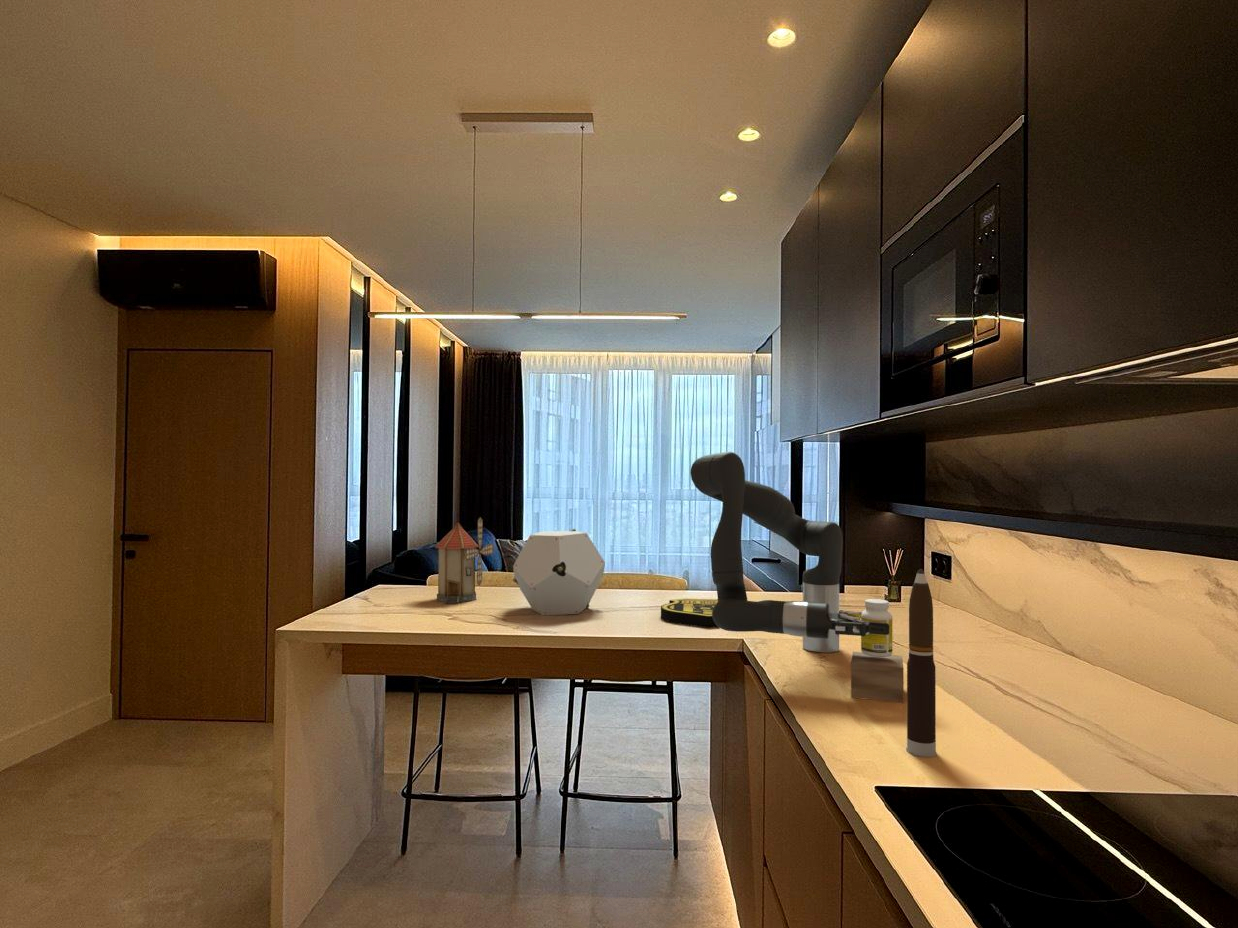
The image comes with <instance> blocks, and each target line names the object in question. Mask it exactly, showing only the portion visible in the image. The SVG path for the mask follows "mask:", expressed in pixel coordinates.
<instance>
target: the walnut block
mask: <svg viewBox="0 0 1238 928" xmlns="http://www.w3.org/2000/svg"><path fill="white" fill-rule="evenodd" d="M851 653H852V654H851V659H850V698H854V699H862V700H874V701H881V702H890V703H900V704H901V703H902V704H904V695H905V693H904V690H905V689H904V687H905V686H904V675H905V674H904V668H905V667H904V662H903V656H902V655H896V654H892V655H891V656H888V657H874V656H869V655H866V654H864V653H862V651H852V652H851Z"/></svg>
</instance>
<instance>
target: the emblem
mask: <svg viewBox="0 0 1238 928" xmlns="http://www.w3.org/2000/svg"><path fill="white" fill-rule="evenodd" d="M668 602H669V603H665V604H662V605H661V606H660V619H661V620H662V621H664V622H667V623H673V624H679V625H686V626H691V627H692V626H693V627H699V628H706V629H711V628H719V627H718V626H717V625H716V624H715V622H714V621H713V618H712V611H713V608H714V606H715V604H716V603H717V602H718V598H717V599H716V598H715V599H714V598H677V599H670V600H669V601H668Z"/></svg>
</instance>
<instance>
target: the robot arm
mask: <svg viewBox="0 0 1238 928" xmlns="http://www.w3.org/2000/svg"><path fill="white" fill-rule="evenodd" d="M689 473H690V479H691V481H692V483H693V485H694V486H695V488H696V489H697V490H698V491H699V492H700V493H702V494H704V495H705V496H708V497H710V498H712V499H715V500H717V501H720V502H722V509H721V510H722V511H721V514H720V519H719V522H718V524H717V528H716V530H715V533H714V535H713V538H712V542H711V546H710V564H711V577H712V582H713V584H714V585H715V586H716V593H717V594H716V595H717V599H718V602H717V603H716V604H715V606H714V608H713V611H712V618H713V621H714V622H715V624H716V625H717V626H718V627H717V628H719V629H721V630H724V631H726V632H727V631H728V632H736V633H737V632H739V633H740V632H741V633H742V632H743V633H744V632H745V633H747V632H764V633H770V634H771V633H772V634H780V635H781V634H783V635H789V636H793V637H801V638H802V648H803V650H806V651H810V652H814V653H835V652H836V653H837V652H838V651H840V635H843V636H858V637H861V636H866V635H868V634H869V632H870V633H871V634H883V635H888V634H889V624H887V623H876V622H870V624H869V622H868V621H862V620H861V614H862V612H863V611H862V612H861V611H860V612H859V611H850V610H843V609H842V610H841V609H840V576H841V573H842V567H843V566H842V565H843V548H844V547H843V545H844V539H843V533H842V529H841V527H840V525H838V523H836V522H833V521H823V520H822V521H819V520H818V521H817V520H808V519H806V518H803V517H801V516H800V515H797V514H796V511H795V507H794V503H792V501H791V500H790V499H789V498H788V497H787V496H786V495H783V493H781V492H779V491H778V490H777V489H774V488H773V487H771V486H769V485H765V484H762V483H759V482H756V481H755V482H754V481H749V480H746V471H745V466H744V463H743V460H742V459H741V457H740V456H739V455H738V454H737V453H736V452H732V451H725V452H718V453H712V454H707V455H703V456H701V457H698V458H697V459H696V460H694V462H692V464H691V467H690V472H689ZM744 515H745V516H746V517H748V518H750V519H751V520H753V521H754V522H755V523H757V524H758V525H760V526H761V527H763V528H766V529H767V530H769V531H771V532H772V533H774V534H776V535H777V536H780V537H782V538H783V539H785V540H786V541H787V542H788V543H790V545H792V546H793V547H794V548H796V550H798V551H799V552H800V553H802V554H804V555H806V556H811V557H818V562H817V565H816V566H814V567H812V568H809V569H805V570H804V571H803V573H802V600H791V601H789V600H788V601H787V600H774V599H773V600H772V599H765V600H760V601H759V600H758V601H753V600H748V596H747V590H746V585H745V580H744V566H743V565H744V563H743V551H742V529H743V528H742V527H743V518H744V517H743V516H744Z"/></svg>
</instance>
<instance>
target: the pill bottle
mask: <svg viewBox="0 0 1238 928" xmlns="http://www.w3.org/2000/svg"><path fill="white" fill-rule="evenodd" d="M889 603H890V602H889V601H888V600H886V599H878V598H877V599H876V598H870V599H869V598H868V599H865V600H864V608H865V610H863V611H862V614H861V619H860V620H862V621H868V622H869V624H870V622H876V623H887V624H889V634H888V635H883V634H871V633H870V632H869V634H868V635H866V636H860V650H861V651H860V652H862V653H864V654H866V655H869V656H874V657H888V656H891V655H893V615H892V613H891V612H890V611H888V609H889V608H890V604H889Z"/></svg>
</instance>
